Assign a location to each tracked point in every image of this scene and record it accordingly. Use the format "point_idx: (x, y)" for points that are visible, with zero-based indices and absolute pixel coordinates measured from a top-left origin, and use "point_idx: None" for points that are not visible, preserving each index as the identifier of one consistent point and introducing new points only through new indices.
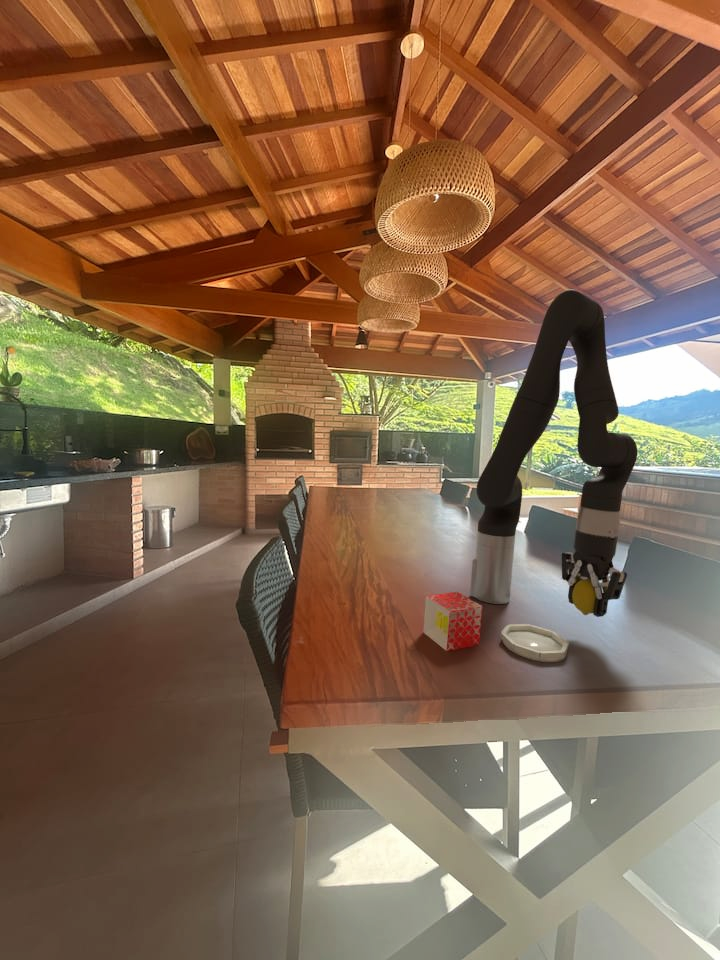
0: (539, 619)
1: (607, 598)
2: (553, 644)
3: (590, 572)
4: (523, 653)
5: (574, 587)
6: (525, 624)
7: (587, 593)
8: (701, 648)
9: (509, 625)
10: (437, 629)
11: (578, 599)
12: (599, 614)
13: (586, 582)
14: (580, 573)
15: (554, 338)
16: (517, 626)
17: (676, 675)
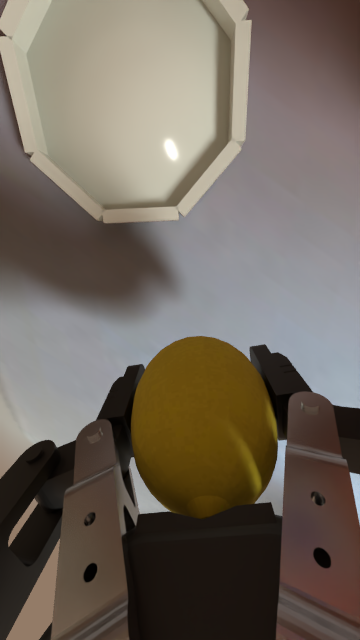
0: (317, 263)
1: (40, 447)
2: (122, 181)
3: (108, 619)
4: None
5: (244, 388)
6: (243, 126)
7: (145, 403)
8: (145, 505)
9: (241, 19)
10: None
11: (179, 350)
12: (121, 377)
13: (186, 470)
14: (275, 527)
15: None
16: (233, 71)
17: (37, 403)
